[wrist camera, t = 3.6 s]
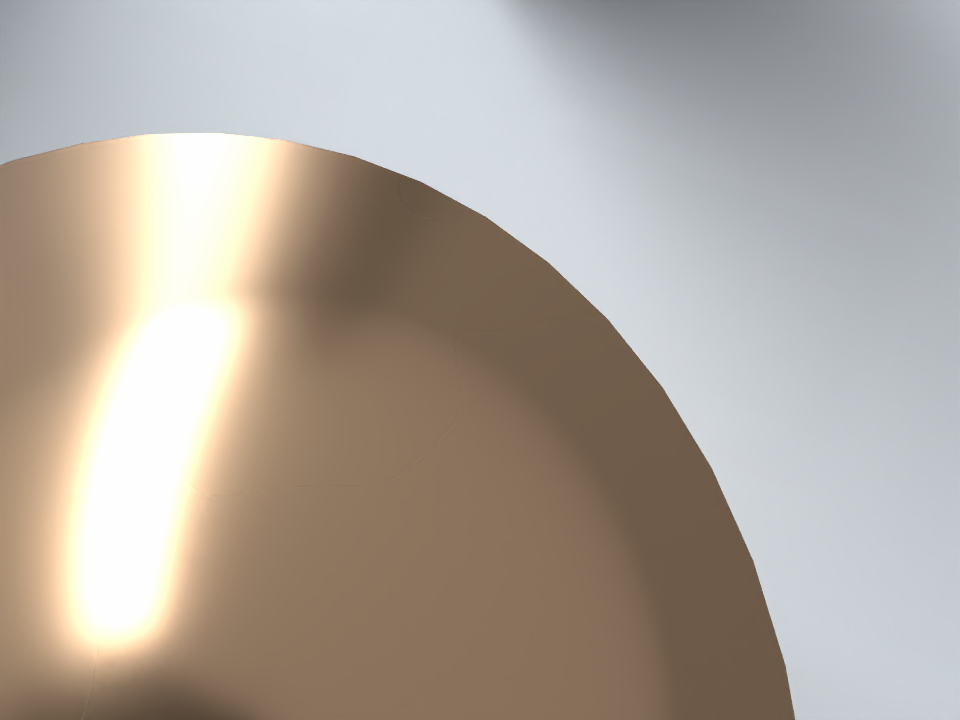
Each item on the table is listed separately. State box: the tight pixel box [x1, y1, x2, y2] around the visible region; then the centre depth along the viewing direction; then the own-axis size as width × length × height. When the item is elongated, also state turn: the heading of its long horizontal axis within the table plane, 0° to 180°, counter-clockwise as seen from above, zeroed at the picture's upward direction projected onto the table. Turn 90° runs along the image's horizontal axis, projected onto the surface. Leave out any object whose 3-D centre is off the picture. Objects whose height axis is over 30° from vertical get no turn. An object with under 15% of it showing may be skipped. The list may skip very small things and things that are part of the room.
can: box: [0, 133, 795, 720], centre depth 9 cm, size 5×5×13 cm
